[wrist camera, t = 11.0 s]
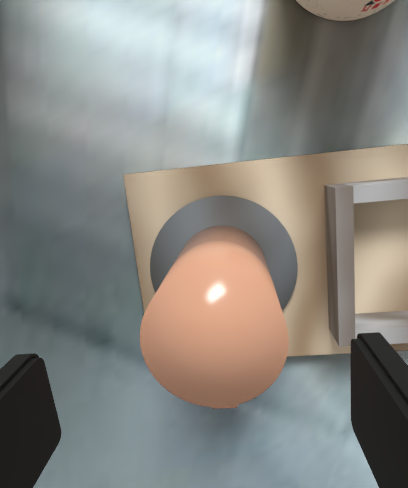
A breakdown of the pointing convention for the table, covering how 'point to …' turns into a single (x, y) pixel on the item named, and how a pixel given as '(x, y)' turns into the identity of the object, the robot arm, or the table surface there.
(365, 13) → the teacup with lid
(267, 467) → the table surface
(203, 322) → the peach rounded peg
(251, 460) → the table surface
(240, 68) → the table surface
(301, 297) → the board
